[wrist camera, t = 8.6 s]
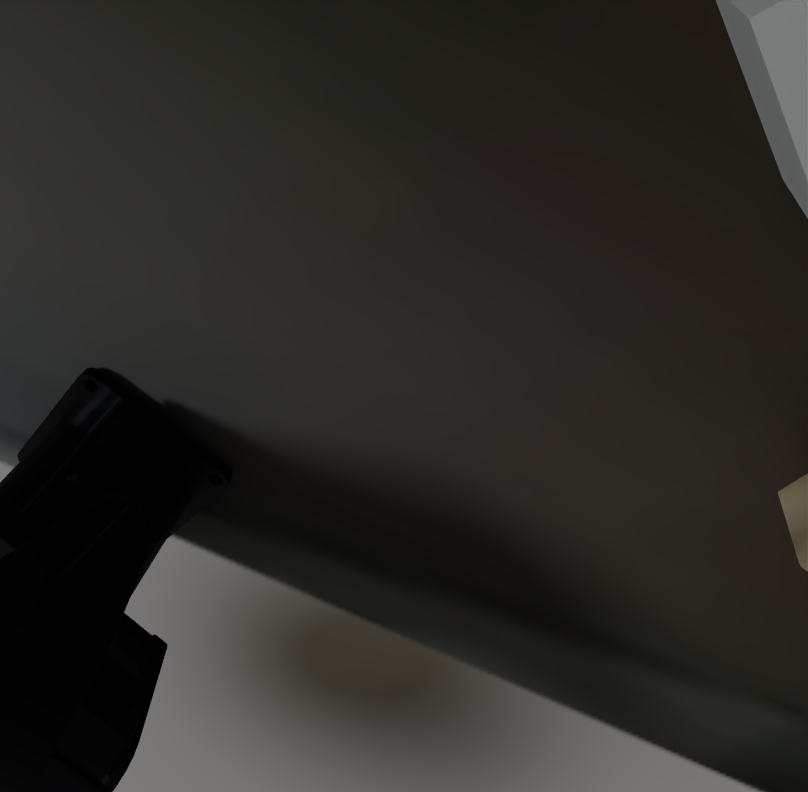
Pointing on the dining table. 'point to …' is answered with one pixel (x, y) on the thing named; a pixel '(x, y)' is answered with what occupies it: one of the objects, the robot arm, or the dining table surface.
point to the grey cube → (776, 77)
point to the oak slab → (797, 516)
